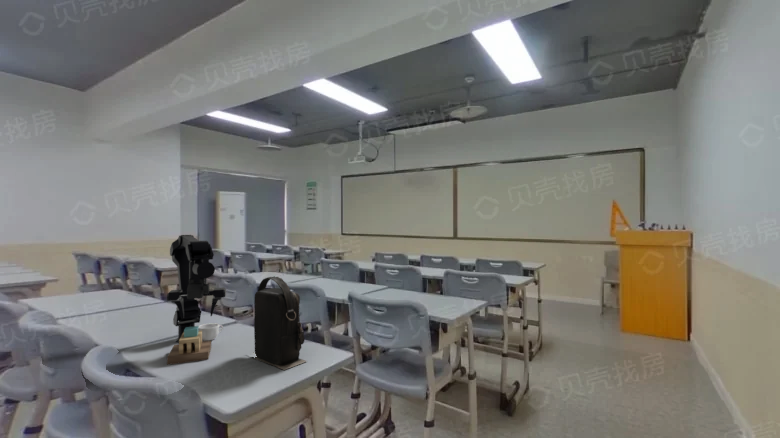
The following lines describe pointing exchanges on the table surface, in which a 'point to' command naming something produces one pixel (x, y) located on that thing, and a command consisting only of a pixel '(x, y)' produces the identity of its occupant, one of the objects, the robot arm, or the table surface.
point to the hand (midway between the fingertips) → (197, 317)
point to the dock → (189, 354)
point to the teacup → (209, 331)
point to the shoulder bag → (277, 325)
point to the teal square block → (191, 331)
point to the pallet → (190, 343)
